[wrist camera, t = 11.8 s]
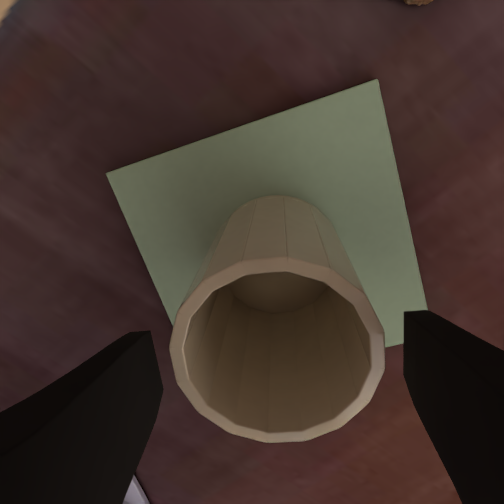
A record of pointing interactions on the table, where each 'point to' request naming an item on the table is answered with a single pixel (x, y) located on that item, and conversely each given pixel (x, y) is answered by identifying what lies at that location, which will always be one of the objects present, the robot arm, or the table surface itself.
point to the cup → (277, 327)
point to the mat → (282, 183)
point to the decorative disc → (417, 2)
